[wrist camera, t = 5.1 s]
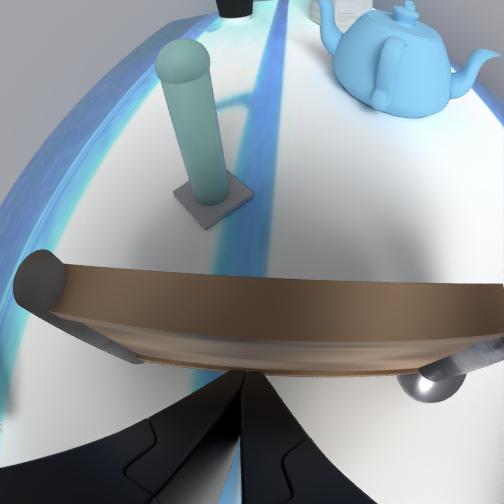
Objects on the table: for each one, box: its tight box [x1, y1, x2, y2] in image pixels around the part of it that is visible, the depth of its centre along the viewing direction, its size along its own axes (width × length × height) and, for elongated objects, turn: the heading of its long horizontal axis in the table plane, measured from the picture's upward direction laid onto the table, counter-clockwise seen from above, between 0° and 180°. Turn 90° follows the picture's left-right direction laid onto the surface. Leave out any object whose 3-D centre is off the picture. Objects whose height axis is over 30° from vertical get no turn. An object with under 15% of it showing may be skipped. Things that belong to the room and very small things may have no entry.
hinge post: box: [397, 336, 504, 403], centre depth 10 cm, size 5×5×11 cm
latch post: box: [155, 38, 254, 230], centre depth 16 cm, size 4×4×11 cm
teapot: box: [317, 0, 501, 118], centre depth 23 cm, size 15×15×10 cm
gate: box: [13, 250, 504, 377], centre depth 11 cm, size 16×2×9 cm, turn 85°
